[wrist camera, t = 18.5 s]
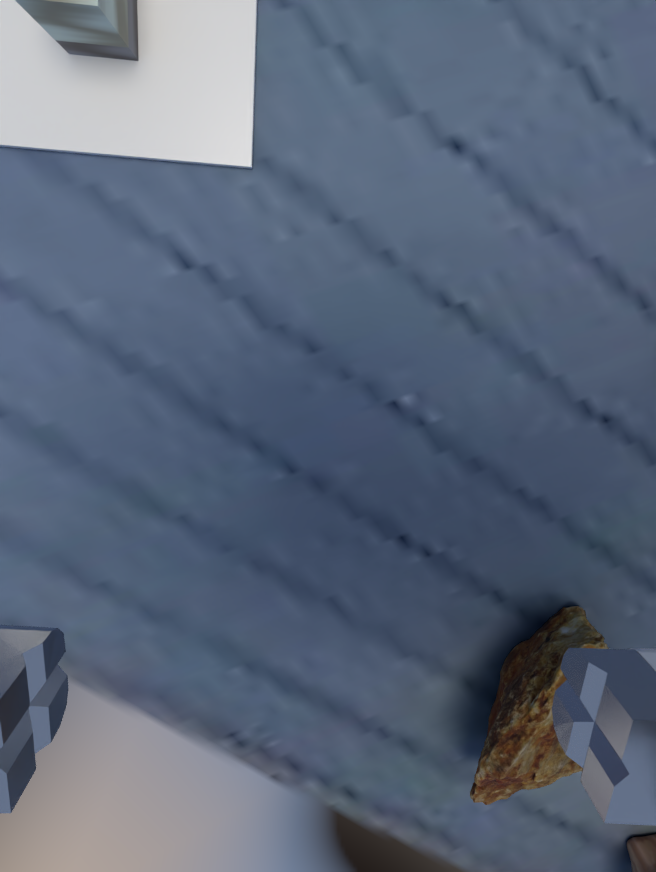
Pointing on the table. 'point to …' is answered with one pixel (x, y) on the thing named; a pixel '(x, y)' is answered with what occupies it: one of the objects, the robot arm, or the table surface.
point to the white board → (136, 86)
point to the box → (89, 25)
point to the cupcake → (642, 853)
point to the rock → (530, 711)
